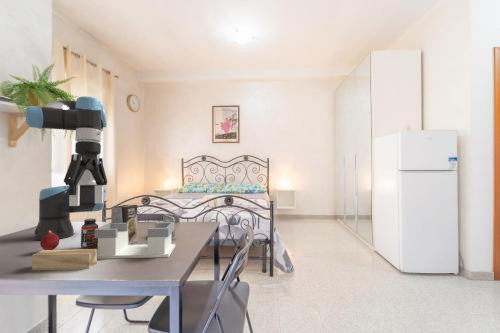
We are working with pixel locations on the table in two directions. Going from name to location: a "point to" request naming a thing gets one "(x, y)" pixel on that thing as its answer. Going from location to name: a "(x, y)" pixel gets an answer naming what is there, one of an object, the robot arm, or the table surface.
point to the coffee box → (126, 219)
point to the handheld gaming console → (169, 219)
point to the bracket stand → (116, 245)
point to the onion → (49, 241)
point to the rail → (64, 259)
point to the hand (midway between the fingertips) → (87, 204)
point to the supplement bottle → (89, 234)
